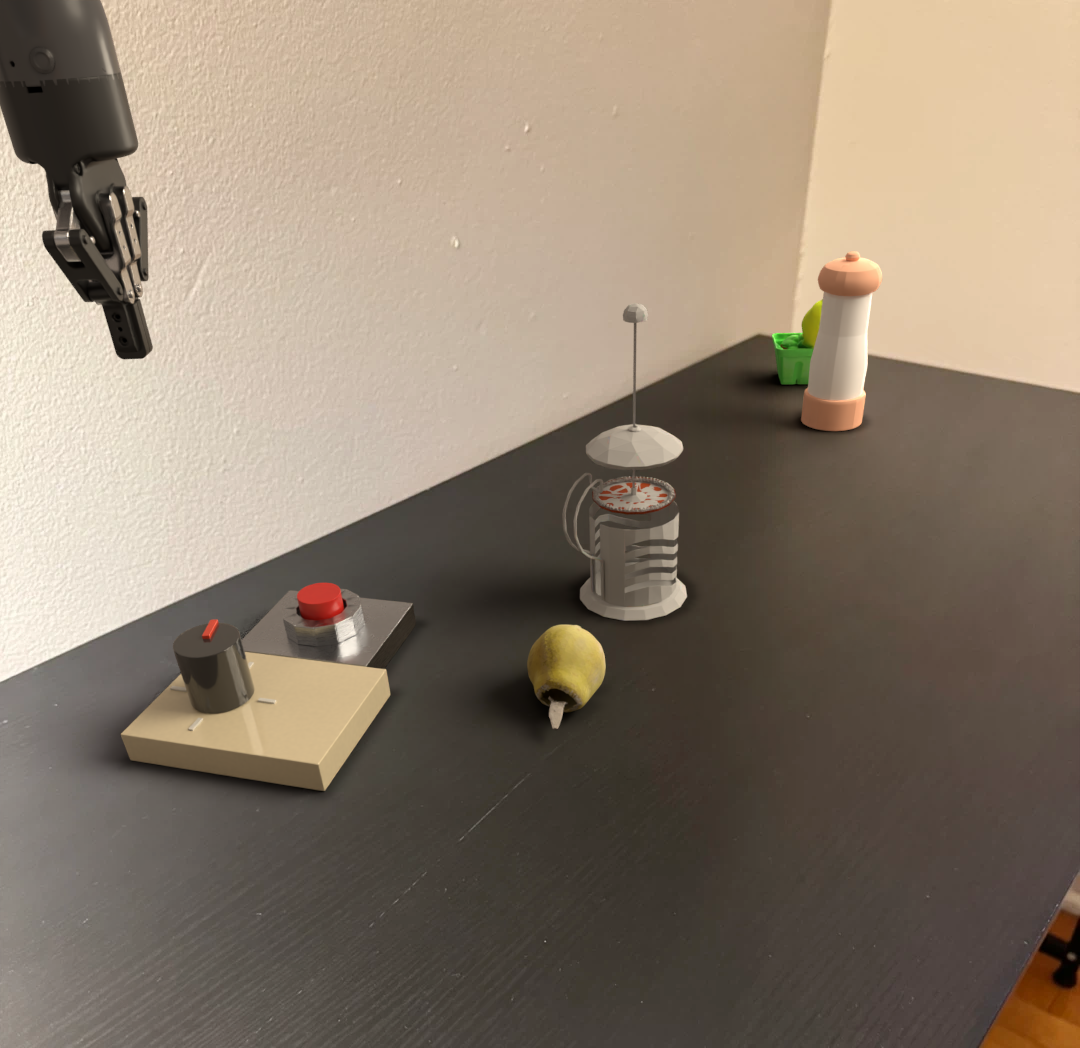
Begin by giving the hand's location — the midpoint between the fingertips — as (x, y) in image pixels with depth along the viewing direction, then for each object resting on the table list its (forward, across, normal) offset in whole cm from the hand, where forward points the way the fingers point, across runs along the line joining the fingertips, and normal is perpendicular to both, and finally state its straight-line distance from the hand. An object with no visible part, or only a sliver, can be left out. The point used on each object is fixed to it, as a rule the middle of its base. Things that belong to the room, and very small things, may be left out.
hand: (136, 355), depth 71 cm
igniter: (+24, +2, +10) cm, 27 cm away
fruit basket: (+24, -62, +65) cm, 93 cm away
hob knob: (+22, +12, +4) cm, 25 cm away
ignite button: (+21, +1, +10) cm, 23 cm away
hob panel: (+24, +13, +7) cm, 29 cm away
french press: (+24, -6, +36) cm, 44 cm away
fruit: (+24, +11, +31) cm, 41 cm away
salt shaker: (+24, -47, +64) cm, 83 cm away
